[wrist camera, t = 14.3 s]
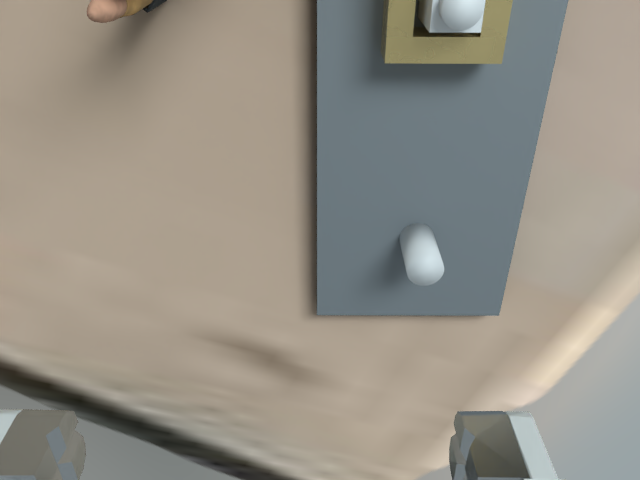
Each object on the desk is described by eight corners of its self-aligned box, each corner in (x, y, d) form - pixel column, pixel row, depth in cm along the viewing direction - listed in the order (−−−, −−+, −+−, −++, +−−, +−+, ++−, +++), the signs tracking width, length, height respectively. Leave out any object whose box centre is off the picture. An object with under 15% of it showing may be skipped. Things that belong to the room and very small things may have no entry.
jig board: (317, 303, 45) (316, 361, 39) (317, -211, 28) (316, -236, 22) (493, 303, 45) (518, 361, 39) (601, -210, 28) (671, -235, 22)
